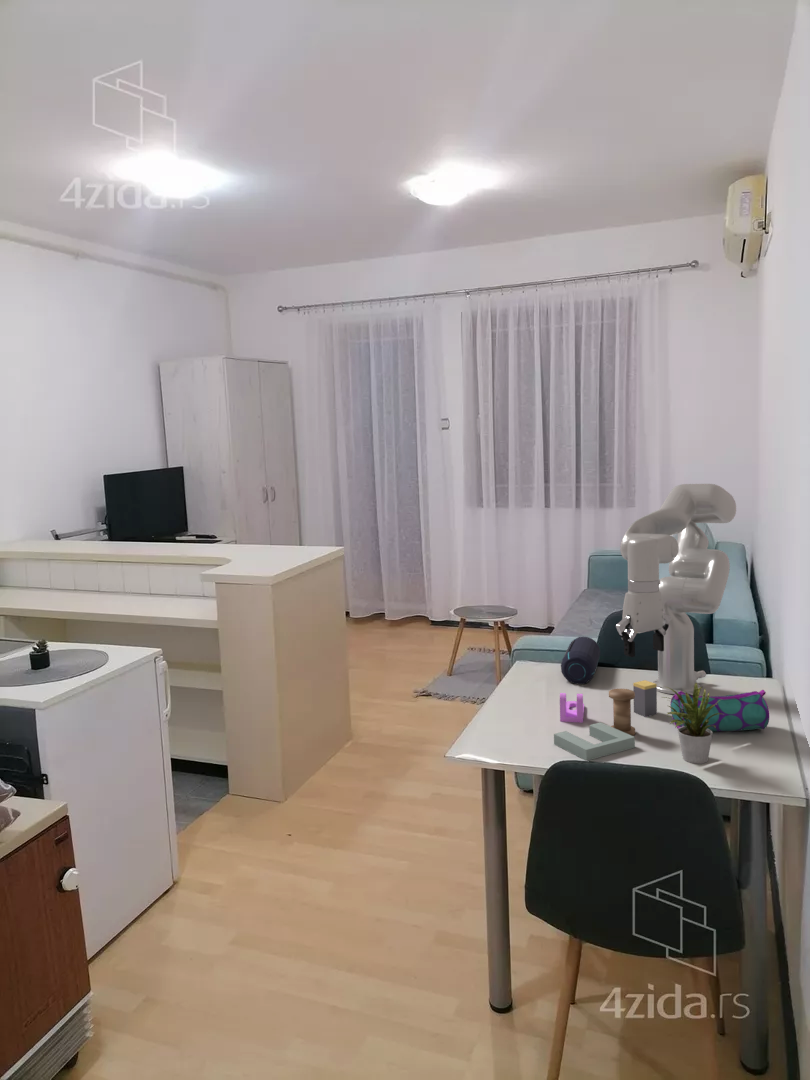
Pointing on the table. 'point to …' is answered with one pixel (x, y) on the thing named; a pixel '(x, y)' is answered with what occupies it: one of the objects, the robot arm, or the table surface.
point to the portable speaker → (580, 660)
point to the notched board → (587, 751)
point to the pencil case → (730, 711)
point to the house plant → (694, 727)
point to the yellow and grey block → (645, 698)
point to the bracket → (568, 714)
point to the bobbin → (622, 710)
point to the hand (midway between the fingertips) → (644, 653)
